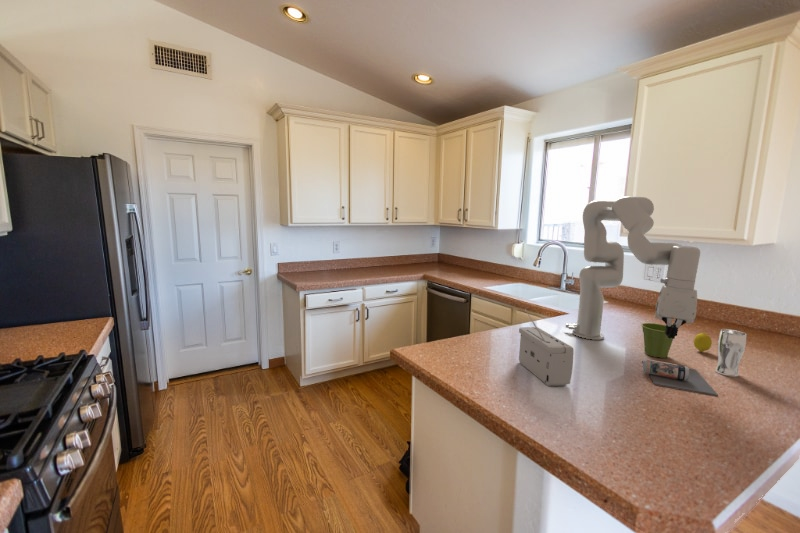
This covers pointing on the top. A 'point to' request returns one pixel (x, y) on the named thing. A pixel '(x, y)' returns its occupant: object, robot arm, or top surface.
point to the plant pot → (656, 340)
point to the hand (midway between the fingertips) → (670, 337)
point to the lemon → (702, 342)
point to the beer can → (666, 369)
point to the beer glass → (730, 351)
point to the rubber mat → (685, 383)
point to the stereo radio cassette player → (545, 356)
